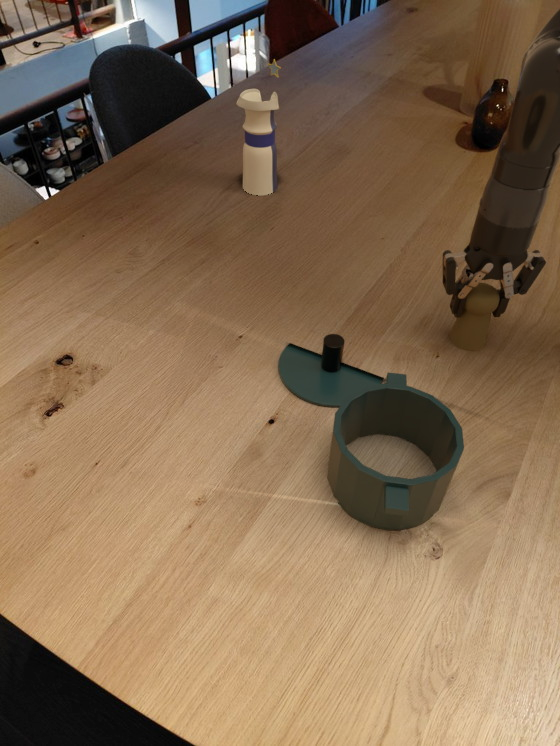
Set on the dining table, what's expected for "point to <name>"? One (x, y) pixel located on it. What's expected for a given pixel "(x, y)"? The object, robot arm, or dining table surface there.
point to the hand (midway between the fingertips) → (475, 313)
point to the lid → (322, 373)
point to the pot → (409, 422)
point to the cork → (475, 318)
